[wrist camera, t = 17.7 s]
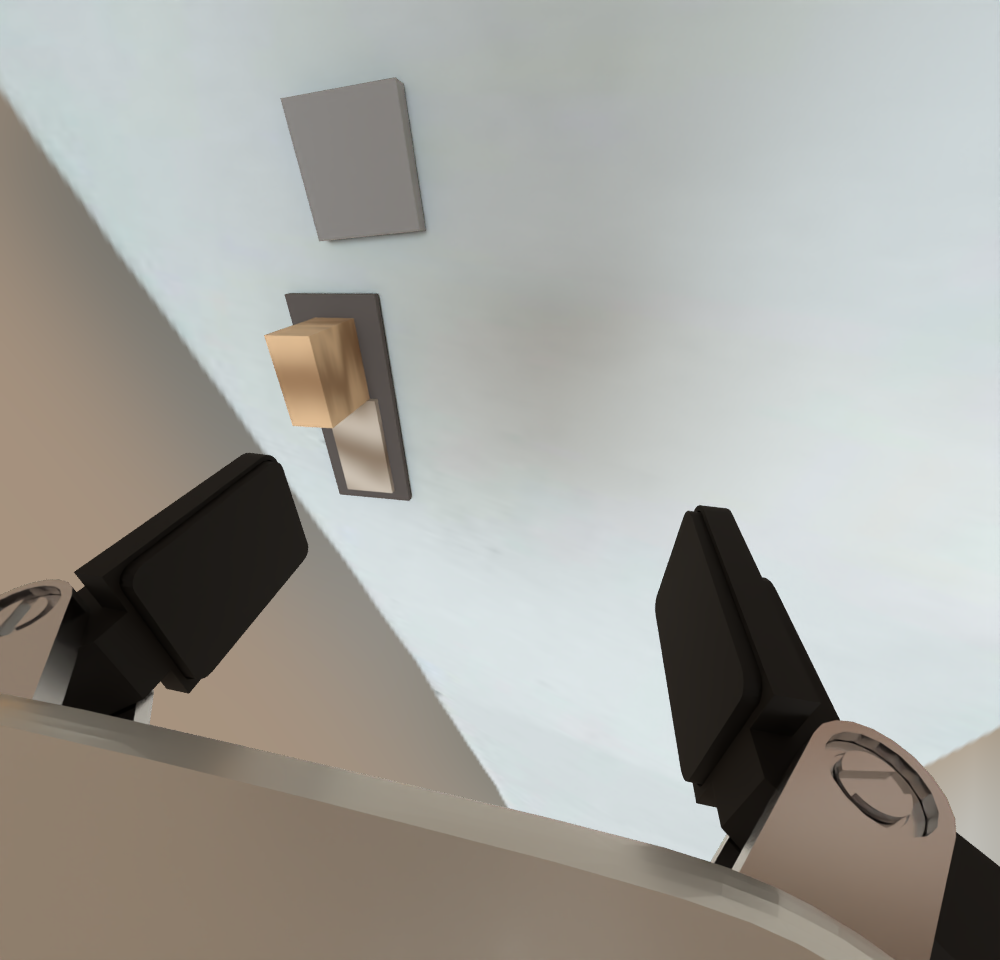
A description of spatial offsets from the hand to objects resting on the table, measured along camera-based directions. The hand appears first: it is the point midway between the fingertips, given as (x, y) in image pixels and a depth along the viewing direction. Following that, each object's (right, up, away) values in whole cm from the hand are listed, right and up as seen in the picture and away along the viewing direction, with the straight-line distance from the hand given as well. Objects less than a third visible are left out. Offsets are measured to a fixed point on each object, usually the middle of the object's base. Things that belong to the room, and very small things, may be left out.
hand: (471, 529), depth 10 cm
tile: (-5, +23, +18) cm, 29 cm away
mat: (-13, +8, +29) cm, 33 cm away
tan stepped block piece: (-13, +8, +29) cm, 33 cm away
